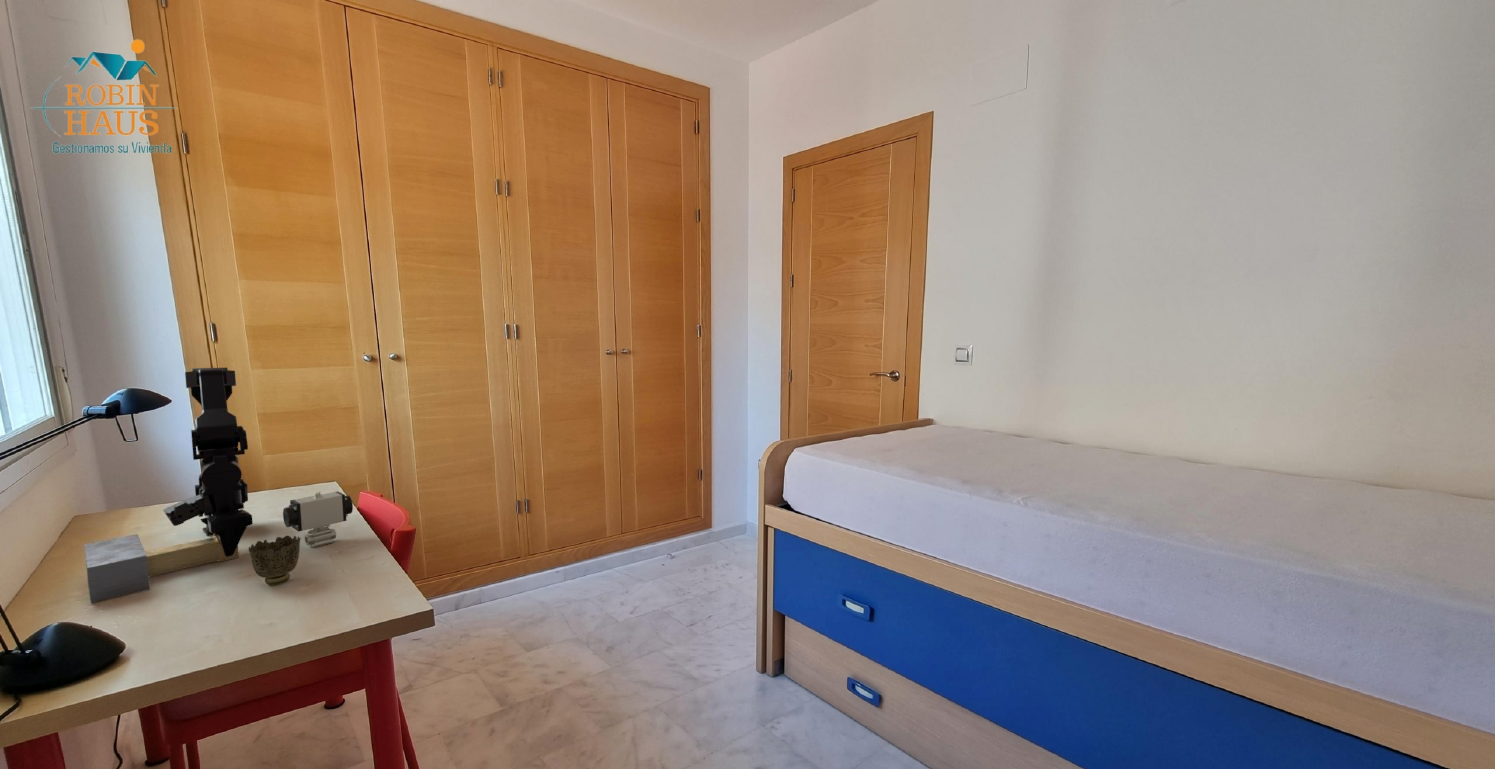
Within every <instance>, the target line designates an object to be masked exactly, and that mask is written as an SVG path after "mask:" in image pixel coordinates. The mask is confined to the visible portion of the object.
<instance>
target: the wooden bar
mask: <svg viewBox="0 0 1495 769" xmlns="http://www.w3.org/2000/svg"><path fill="white" fill-rule="evenodd" d="M212 536H213V537H210V538H204V539H199V540H195V541H190V542H185V543H181V544H176V545H175V544H174V545H170V546H166V547H161V548H156V549H151V550H146V551H145V553H146V555H147V565H148V576H149V577H153V576H156V575H157V576H158V575H161V574H166V573H170V572H173V571H179V570H182V569H188V568H191V567H196V566H200V565H204V564H205V565H206V564H209V563H212V562H223V561H228V560H232V559H236V558H237V559H238V558H239V557H240V555H239V545H238V546H237V548H236V550H235V552H234V554H233V555H232V556H228V557H226V556H225V553H224V550H223V547H222V545H221V542H220V539H219V536H218V535H217V534H212Z"/></svg>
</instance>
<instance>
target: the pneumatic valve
mask: <svg viewBox="0 0 1495 769" xmlns="http://www.w3.org/2000/svg"><path fill="white" fill-rule="evenodd" d="M289 502H290V504H289V505H288V506H286V507H284V508H283V511H282V518H283V523H284V525H285V527H286V528H290V527H291V528H292V529H294V530H295V531H297V532H304V531H307V532H306V534H305V536H304V542H305V545H306V546H311V547H312V548H318V547H322V545H323V546H327V545H331V544H333V543H334V540H335V539H336V538H337V531H336V528H330V525H334V524H339V523H342V522H343V523H344V522H347V517H348V516H349V515H351V514H352V513H353V509H354V506H353V500H352V497H351V496H350V495H345V493H342V492H340V491H333V492H327V493H322V494H321V491H318V492H314V495H313V496H312V495H310V496H307V497H301V498H296V499H291V500H289ZM330 543H331V544H330ZM326 544H327V545H326Z"/></svg>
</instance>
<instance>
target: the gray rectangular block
mask: <svg viewBox="0 0 1495 769" xmlns="http://www.w3.org/2000/svg"><path fill="white" fill-rule="evenodd" d="M83 548H84V550H83V551H84V557H85V558H84V559H85V566H86V568H85V569H86V576H87V583H88V584H87V585H89V586H88V591H89V592H88V593H89V599H90V600H89V601H90V604H91V605H92V604H96V603H99V602H103V601H104V602H105V601H108V600H112V599H115V598H116V599H117V598H121V597H124V596H128V595H131V594H136V593H141V592H145V591H149V590H151V589H150V588H151V587H150V578H149V577H150V576H148V565H147V555H146V553H145V552H146V551H145V548H144V546H143V543H142V541H141V539H140V537H139V535H138V534H137V533H136V534H131V535H130V534H129V535H127V536H126V535H125V536H120V537H115V538H111V539H105V540H104V539H103V540H99V541H95V542H90V543H89V542H88V543H84V544H83Z"/></svg>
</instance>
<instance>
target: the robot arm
mask: <svg viewBox="0 0 1495 769" xmlns="http://www.w3.org/2000/svg"><path fill="white" fill-rule="evenodd" d="M184 376H185V386H186V387H185V388H186V389H190V392H191V393H190V394H191V396H192V397H193V399H194V400H195V401H196V402H198V403H199V405H200V406H201V414H200V415H199V416H197V417H196V418H195V420H194V421H195V429H191V430H190V433H191V446H192V458H193V461H196V460H201V461H199V462H200V474H199V476H198V484H195V485H194V490H195V495H194V496H192V497H189V498H187V499H184V500H182V501H179V502H177V503H175V504H172V505H170V506H167V507H165V508H163V512H164V514H165V515H166V516H167V517H166V518H168V520H169V522H171V524H172V526H174V527H176V526H180V525H182V524H184V523H185V522H187V521H189V520H191V519H194V518H196V517H199V518H201V517H203V518H201V519H200V521H201V522H202V523H203V524H205V526H206V527H202V531H203V533H204V534H205V535H206V536H211V535H212V536H213V534H217V535H218V536H219V539H220V542H221V545H222V547H223V550H224V553H225V556H226V557H228V556H232V555H233V554H234V552H235V550H236V548H237V546H238V547H239V543H240V541H241V539H242V536H243V535H244V534H245V532H246V529H247V527H249V526H252V525H253V524H254V523H253V515H252V514H251V513H250V512H249V511H247V510H245V503H246V502H248V501H249V494H248V483H246V482H245V481H244V479H243V478H242V475H243V474H242V470H241V467H240V465H239V464H240V463H239V457H237V456H241V455H245V454H246V453H245V451H247V450H248V448H249V444H248V438H247V431H246V429H244V426H242V425H238V422H237V416H236V415H235V414H233V413H231V412H229V410H228V400H229V398H230V397H231V396H232V394H233V387H236V386H237V381H236V380H237V379H236V371H235V370H232V369H230V370H229V369H228V367H227V366H226V367H197V368H196V367H194V368H192V370H191V371H185V372H184ZM239 448H240V449H239ZM197 451H198V452H199V453H198V454H197Z"/></svg>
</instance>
